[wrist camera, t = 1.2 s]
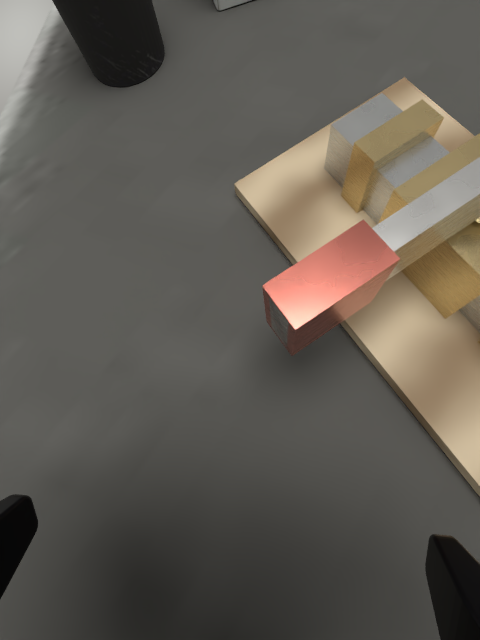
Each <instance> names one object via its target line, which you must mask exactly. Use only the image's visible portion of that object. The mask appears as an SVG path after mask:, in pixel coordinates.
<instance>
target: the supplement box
mask: <svg viewBox="0 0 480 640" xmlns="http://www.w3.org/2000/svg"><path fill="white" fill-rule="evenodd" d="M213 1H214V4H215V6H216V8H217V10H220V11H221V10H224V9H227V8H230V7H233V6H236V5H239V4H242V3H245V2H248V1H251V0H213Z"/></svg>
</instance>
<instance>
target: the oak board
mask: <svg viewBox="0 0 480 640" xmlns="http://www.w3.org/2000/svg"><path fill="white" fill-rule="evenodd" d="M381 93H383V94H384V95H385V96H386V97H387V98H389V99H390V100H391V101H392V102H393V103H394V104H395V105H396V106H398V107H399V108H400V109H401V110H402V111H405V110H406V109H408V108H409V107H411V106H412V105H414V104H416V103H417V102H419V101H420V100H422V99H423V100H424V101H425V102H426V103H428V104H429V105H430V106H431V107H432V108H433V109H435V110H436V111H437V112H438V113H439V114H441V115H442V116H443V117H444V119H443V121H442V123H441V125H440V127H439V129H438V131H437V133H436V135H435V137H434V139H435V140H436V141H437V142H438V143H440V144H441V145H442V146H443V147H444V148H445V149H446V150H447V151H449V152H452V151H453V150H455V149H457V148H458V147H460V146H461V145H463V144H464V143H466V142H467V141H469V140H470V139H472V138H473V137H475V136H474V135H472V134H471V133H470V132H469V131H468V130H466V129H465V128H464V127H463V126H462V125H461V124H459V123H458V122H457V121H456V120H455V119H453V118H452V117H451V116H450V115H449V114H447V113H446V112H445V111H444V110H443V109H441V108H440V107H439V106H438V105H437V104H435V103H434V102H433V101H432V100H431V99H430V98H428V97H427V96H426V95H425V94H424V93H422V92H421V91H420V90H419V89H418V88H416V87H415V86H414V85H413V84H412V83H410V82H409V81H408V80H407V79H406V78H403V79H401V80H399V81H398V82H396V83H395V84H393V85H391V86H390V87H388V88H387V89H385V90H383V91H382V92H380V93H379V94H381ZM379 94H377V95H379ZM377 95H375V96H374V97H376V96H377ZM374 97H372V98H371V99H373V98H374ZM371 99H369V100H371ZM369 100H367V101H366V102H368V101H369ZM366 102H364V103H363V104H365V103H366ZM363 104H361V105H363ZM361 105H359V106H358V107H360V106H361ZM358 107H356V108H355V109H357V108H358ZM355 109H353V110H355ZM353 110H351V111H350V112H352V111H353ZM350 112H348V113H347V114H349V113H350ZM347 114H345V115H347ZM345 115H343V116H342V117H344V116H345ZM342 117H340V118H339V119H341V118H342ZM339 119H337V120H335V121H334V122H336V121H338V120H339ZM334 122H332V123H331V124H333V123H334ZM331 124H329V125H327V126H326V127H324V128H323V129H321V130H319V131H318V132H316V133H315V134H313V135H311V136H310V137H308V138H307V139H305V140H303V141H302V142H300V143H299V144H297V145H295V146H294V147H292V148H291V149H289V150H288V151H286V152H284V153H283V154H281V155H280V156H278V157H276V158H275V159H273V160H272V161H270V162H268V163H267V164H265V165H264V166H262V167H260V168H259V169H257V170H256V171H254V172H252V173H251V174H249V175H248V176H246V177H244V178H243V179H241V180H240V181H238V182H236V183H235V184H234V186H235V191H236V195H237V196H238V197H239V198H240V200H241V201H242V202H243V203H244V205H245V206H246V207H247V208H248V210H249V211H250V212H251V213H252V215H253V216H254V217H255V218H256V219H257V221H258V222H259V223H260V224H261V226H262V227H263V228H264V229H265V231H266V232H267V233H268V234H269V236H270V237H271V238H272V239H273V241H274V242H275V243H276V244H277V246H278V247H279V248H280V249H281V251H282V252H283V253H284V254H285V256H286V257H287V258H288V259H289V260H290V262H291V263H292V264H293V265H295V264H296V263H298V262H299V261H301V260H302V259H304V258H305V257H307V256H308V255H310V254H311V253H313V252H314V251H316V250H317V249H319V248H321V247H322V246H324V245H325V244H327V243H328V242H330V241H331V240H333V239H334V238H336V237H337V236H339V235H340V234H342V233H343V232H345V231H346V230H348V229H349V228H351V227H352V226H354V225H356V224H357V223H359V222H360V221H362V220H363V219H364V220H365V221H366V223H367V224H368V225H369V226H370V227H371V228H373V227H374V226H376V225H377V224H376V223H375V222H374V221H373V220H372V219H371V218H370V217H369V215H368V214H367V213H366V212H365V211H364V210H362V211H360V212H359V213H356V212H355V211H354V209H353V208H352V207H351V206H350V205H349V204H348V203H347V202H346V201H345V200H344V199H343V198H342V197H341V193H342V189H343V188H342V187H341V186H340V185H339V184H338V183H337V182H336V181H335V180H334V179H333V177H332V176H331V175H330V174H329V173H328V172H327V171H326V170H325V169H324V166H325V160H326V153H327V147H328V141H329V135H330V129H331ZM340 324H341V325H342V326H343V328H344V329H345V330H346V331H347V333H348V334H349V335H350V336H351V338H352V339H353V340H354V341H355V342H356V344H357V345H358V346H359V347H360V349H361V350H362V351H363V352H364V354H365V355H366V356H367V357H368V359H369V360H370V361H371V362H372V364H373V365H374V366H375V367H376V369H377V370H378V371H379V372H380V374H381V375H382V376H383V377H384V379H385V380H386V381H387V382H388V383H389V385H390V386H391V387H392V388H393V390H394V391H395V392H396V393H397V395H398V396H399V397H400V398H401V400H402V401H403V402H404V403H405V405H406V406H407V407H408V408H409V410H410V411H411V412H412V413H413V415H414V416H415V417H416V418H417V420H418V421H419V422H420V423H421V424H422V426H423V427H424V428H425V429H426V431H427V432H428V433H429V434H430V436H431V437H432V438H433V439H434V441H435V442H436V443H437V444H438V446H439V447H440V448H441V449H442V451H443V452H444V453H445V454H446V456H447V457H448V458H449V459H450V461H451V462H452V463H453V464H454V465H455V467H456V468H457V469H458V470H459V472H460V473H461V474H462V475H463V477H464V478H465V479H466V480H467V482H468V483H469V484H470V485H471V487H472V488H473V489H474V490H475V492H476V493H477V494H478V495H479V497H480V344H479V343H478V342H477V341H479V340H480V333H479V332H478V331H477V330H476V329H475V328H474V326H473V325H472V324H471V323H470V322H469V321H468V320H467V319H466V318H465V317H464V316H463V315H462V314H461V313H460V312H459V311H456V312H455V313H453V314H452V315H451V316H449V317H448V318H446V319H445V318H444V317H443V316H442V315H441V314H440V313H439V312H438V310H437V309H436V308H435V307H434V306H433V305H432V304H431V303H430V302H429V301H428V300H427V299H426V297H425V296H424V295H423V294H422V293H421V292H420V291H419V290H418V289H417V288H416V287H415V286H414V284H413V283H412V282H411V281H410V280H409V279H408V278H407V277H406V276H405V275H404V274H403V273H402V271H400V272H398V273H397V274H395V275H394V276H392V277H391V278H389V279H388V280H387V281H385V282H384V284H383V285H382V287H381V288H380V290H379V291H378V293H377V294H376V296H375V297H374V299H373V300H372V302H371V303H369V304H368V305H366V306H365V307H363V308H362V309H360V310H359V311H357V312H356V313H354V314H353V315H352V316H350V317H349V318H347V319H346V320H344V321H343V322H341V323H340Z"/></svg>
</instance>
